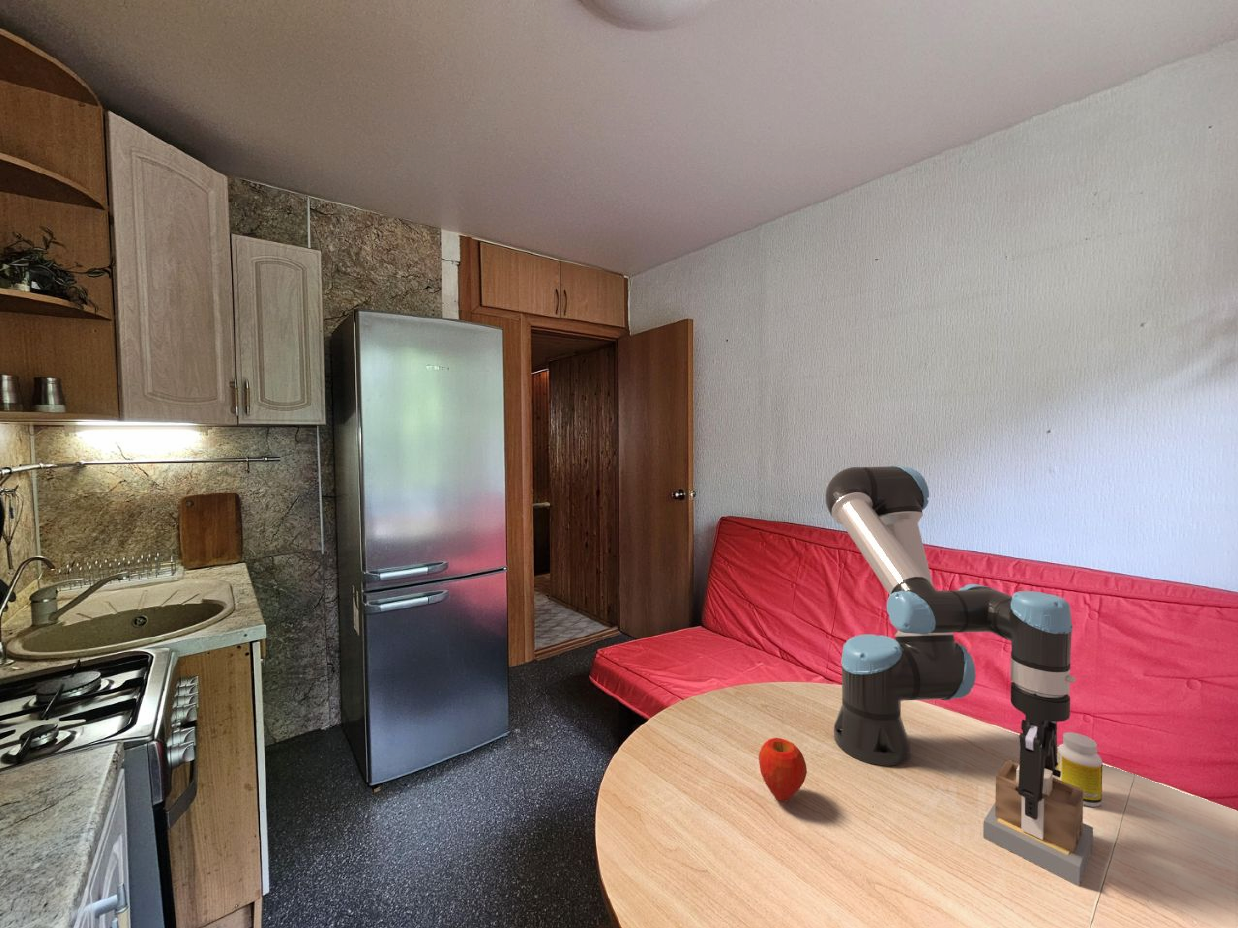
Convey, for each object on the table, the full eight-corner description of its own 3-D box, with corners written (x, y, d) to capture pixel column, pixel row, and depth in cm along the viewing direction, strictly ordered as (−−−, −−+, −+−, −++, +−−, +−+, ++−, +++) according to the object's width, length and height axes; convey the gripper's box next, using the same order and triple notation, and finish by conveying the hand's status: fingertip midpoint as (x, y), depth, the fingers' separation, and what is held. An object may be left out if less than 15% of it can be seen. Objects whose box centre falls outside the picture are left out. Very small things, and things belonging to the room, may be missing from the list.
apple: (813, 796, 94) (813, 741, 93) (794, 821, 87) (794, 762, 87) (771, 776, 99) (770, 724, 99) (750, 798, 93) (750, 743, 93)
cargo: (1016, 786, 82) (1016, 769, 82) (1021, 776, 85) (1022, 759, 85) (1047, 799, 79) (1047, 781, 79) (1052, 788, 82) (1052, 771, 82)
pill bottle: (1111, 810, 89) (1112, 750, 89) (1071, 805, 90) (1072, 747, 90) (1086, 786, 95) (1087, 731, 95) (1049, 782, 96) (1050, 728, 96)
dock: (983, 837, 83) (983, 819, 83) (1003, 804, 91) (1003, 788, 91) (1079, 886, 74) (1079, 866, 74) (1092, 844, 81) (1093, 826, 81)
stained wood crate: (995, 816, 84) (995, 776, 84) (1006, 797, 88) (1007, 759, 88) (1074, 853, 76) (1074, 809, 76) (1082, 830, 80) (1083, 789, 80)
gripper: (1056, 718, 72) (1054, 869, 73) (1081, 677, 85) (1079, 806, 85) (994, 698, 78) (993, 838, 79) (1026, 662, 91) (1025, 783, 91)
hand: (1038, 821), depth 82 cm, fingers closed on stained wood crate, 7 cm apart
